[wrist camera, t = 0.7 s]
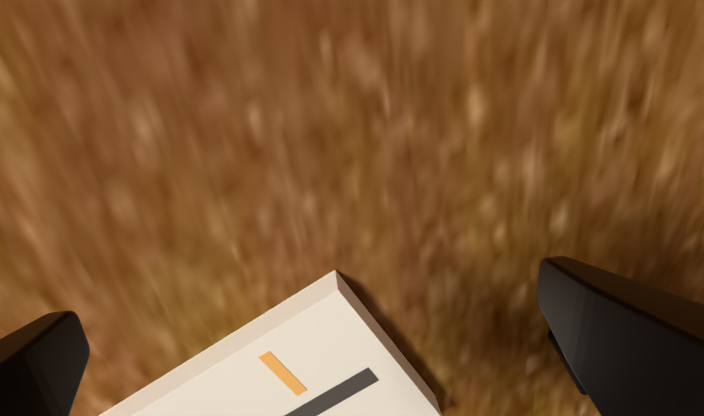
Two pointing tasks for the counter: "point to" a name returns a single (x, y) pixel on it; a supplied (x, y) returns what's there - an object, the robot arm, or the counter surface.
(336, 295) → the fader panel
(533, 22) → the counter surface
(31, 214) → the counter surface
